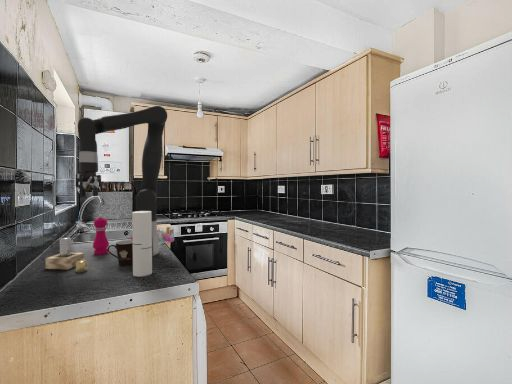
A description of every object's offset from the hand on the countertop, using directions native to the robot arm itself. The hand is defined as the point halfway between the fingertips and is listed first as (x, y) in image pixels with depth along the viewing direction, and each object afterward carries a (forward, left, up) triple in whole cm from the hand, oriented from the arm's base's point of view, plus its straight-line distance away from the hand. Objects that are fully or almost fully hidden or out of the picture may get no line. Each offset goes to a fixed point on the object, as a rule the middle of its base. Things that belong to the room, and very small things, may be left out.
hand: (89, 196), depth 128 cm
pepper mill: (+3, -12, -30) cm, 33 cm away
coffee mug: (-19, +4, -30) cm, 36 cm away
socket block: (+5, +9, -30) cm, 32 cm away
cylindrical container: (-34, +16, -30) cm, 48 cm away
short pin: (-7, +15, -30) cm, 34 cm away
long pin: (+5, +9, -30) cm, 32 cm away
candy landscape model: (-12, -40, -31) cm, 52 cm away
